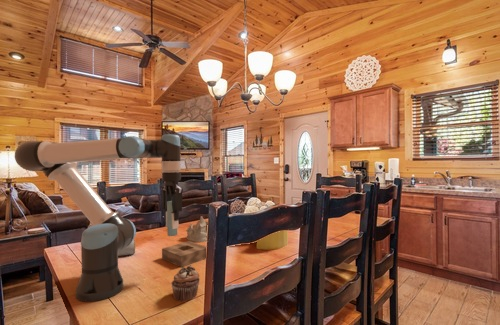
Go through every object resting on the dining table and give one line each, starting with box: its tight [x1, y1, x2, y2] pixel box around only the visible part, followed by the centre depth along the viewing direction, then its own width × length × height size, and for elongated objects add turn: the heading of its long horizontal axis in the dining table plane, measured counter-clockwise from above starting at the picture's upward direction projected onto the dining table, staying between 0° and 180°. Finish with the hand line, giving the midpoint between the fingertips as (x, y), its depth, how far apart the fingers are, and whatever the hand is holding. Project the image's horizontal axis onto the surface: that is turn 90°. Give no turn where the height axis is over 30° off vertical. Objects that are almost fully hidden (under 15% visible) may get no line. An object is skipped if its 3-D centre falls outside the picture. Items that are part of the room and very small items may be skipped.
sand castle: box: [185, 216, 208, 243], centre depth 164 cm, size 16×16×15 cm
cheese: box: [253, 230, 289, 250], centre depth 156 cm, size 26×26×15 cm
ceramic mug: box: [118, 239, 136, 257], centre depth 137 cm, size 11×8×8 cm
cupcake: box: [170, 264, 200, 302], centre depth 94 cm, size 10×10×10 cm
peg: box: [166, 201, 178, 237], centre depth 111 cm, size 4×4×14 cm
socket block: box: [161, 240, 207, 268], centre depth 130 cm, size 16×16×5 cm
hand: (172, 227), depth 111 cm, fingers closed on peg, 4 cm apart
